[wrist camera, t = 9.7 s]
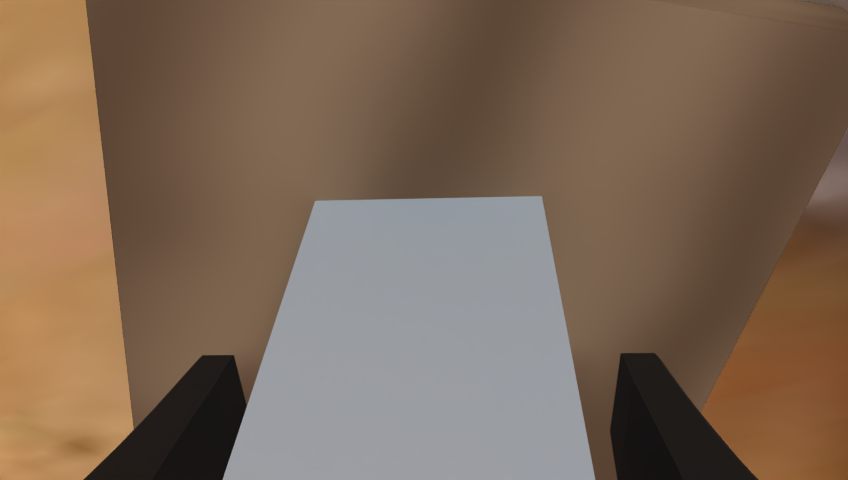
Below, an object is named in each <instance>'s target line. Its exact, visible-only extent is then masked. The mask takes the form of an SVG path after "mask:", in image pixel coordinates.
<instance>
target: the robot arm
mask: <svg viewBox="0 0 848 480" xmlns="http://www.w3.org/2000/svg"><path fill="white" fill-rule="evenodd" d="M246 408H247V405H246V401H245V397H244V393H243V389H242V385H241V381H240V377H239V373H238V369H237V365H236V361H235V357H234V355H202V356H201V357H200V358H199V359H198V360H197V361H196V362H195V363H194V365H193V366H192V367H191V368H190V369H189V370H188V371H187V372H186V373H185V374H184V376H183V377H182V378H181V379H180V380H179V381H178V382H177V383H176V385H175V386H174V387H173V388H172V389H171V390H170V391H169V392H168V393H167V395H166V396H165V397H164V398H163V399H162V400H161V401H160V402H159V403H158V404H157V406H156V407H155V408H154V409H153V410H152V411H151V412H150V413H149V414H148V415H147V416H146V417H145V418H144V420H143V421H142V422H141V423H140V424H139V425H138V426H137V427H136V428H135V429H134V430H133V431H132V432H131V433H130V434H129V435H128V436H127V438H126V439H125V440H124V441H123V442H122V443H121V444H120V445H119V446H118V447H117V448H116V449H115V450H114V451H113V452H112V453H111V454H110V455H109V456H108V457H106V458H105V459H104V460H103V461H102V462H101V463H100V464H99V465H98V466H97V467H96V468H95V469H94V470H93V471H92V472H91V473H90V474H89V475H88V476H87V477H86V478H85V479H84V480H223V477H224V474H225V471H226V468H227V465H228V462H229V459H230V456H231V453H232V450H233V447H234V444H235V441H236V438H237V435H238V432H239V429H240V426H241V423H242V420H243V417H244V414H245V411H246ZM610 435H611V442H612V449H613V456H614V462H615V468H616V475H617V480H758V479H757V478H756V477H755V476H754V475H753V474H752V473H751V471H750V470H749V469H748V468H747V467H746V466H745V465H744V464H743V463H742V462H741V460H740V459H739V458H738V457H737V456H736V455H735V454H734V453H733V451H732V450H731V449H730V448H729V447H728V446H727V444H726V443H725V442H724V441H723V440H722V438H721V437H720V436H719V435H718V434H717V432H716V431H715V430H714V429H713V428H712V426H711V425H710V424H709V423H708V422H707V420H706V419H705V418H704V417H703V415H702V414H701V413H700V412H699V410H698V409H697V408H696V406H695V405H694V404H693V402H692V401H691V400H690V399H689V397H688V396H687V395H686V393H685V392H684V391H683V389H682V388H681V387H680V385H679V384H678V383H677V381H676V380H675V378H674V377H673V376H672V374H671V373H670V372H669V370H668V369H667V367H666V366H665V365H664V363H663V362H662V360H661V359H660V358H659V357H658V356H657V355H656V354H655V353H621V355H620V362H619V369H618V376H617V383H616V391H615V398H614V405H613V412H612V419H611V426H610Z"/></svg>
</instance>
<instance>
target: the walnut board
mask: <svg viewBox="0 0 848 480" xmlns="http://www.w3.org/2000/svg"><path fill="white" fill-rule="evenodd" d="M86 8H87V17H88V26H89V35H90V43H91V52H92V61H93V70H94V79H95V88H96V97H97V106H98V115H99V124H100V132H101V141H102V150H103V159H104V168H105V177H106V186H107V195H108V204H109V213H110V221H111V230H112V239H113V248H114V257H115V266H116V275H117V284H118V293H119V302H120V311H121V319H122V328H123V337H124V346H125V355H126V364H127V373H128V382H129V391H130V400H131V408H132V417H133V426H134V429H135V428H136V427H137V426H138V425H139V424H140V423H141V422H142V421H143V420H144V418H145V417H146V416H147V415H148V414H149V413H150V412H151V411H152V410H153V409H154V408H155V407H156V406H157V404H158V403H159V402H160V401H161V400H162V399H163V398H164V397H165V396H166V395H167V393H168V392H169V391H170V390H171V389H172V388H173V387H174V386H175V385H176V383H177V382H178V381H179V380H180V379H181V378H182V377H183V376H184V374H185V373H186V372H187V371H188V370H189V369H190V368H191V367H192V366H193V365H194V363H195V362H196V361H197V360H198V359H199V358H200V357H201V356H202V355H234V357H235V361H236V365H237V369H238V373H239V377H240V381H241V385H242V389H243V393H244V397H245V401H246V405H248V402H249V399H250V396H251V393H252V390H253V387H254V384H255V381H256V378H257V375H258V372H259V369H260V366H261V363H262V360H263V357H264V354H265V351H266V347H267V344H268V341H269V338H270V335H271V332H272V329H273V326H274V323H275V320H276V317H277V314H278V311H279V308H280V305H281V302H282V299H283V296H284V293H285V290H286V287H287V284H288V281H289V278H290V275H291V272H292V269H293V266H294V263H295V260H296V257H297V254H298V251H299V248H300V245H301V242H302V239H303V236H304V233H305V230H306V227H307V224H308V221H309V218H310V215H311V212H312V209H313V206H314V203H315V201H327V200H376V199H424V198H473V197H522V196H542V200H543V205H544V210H545V216H546V221H547V226H548V232H549V237H550V242H551V248H552V253H553V258H554V263H555V269H556V274H557V279H558V285H559V290H560V295H561V300H562V306H563V311H564V316H565V322H566V327H567V332H568V338H569V343H570V348H571V353H572V359H573V364H574V369H575V375H576V380H577V385H578V390H579V396H580V401H581V406H582V412H583V417H584V422H585V428H586V433H587V438H588V443H589V449H590V454H591V459H592V465H593V470H594V475H595V480H617V475H616V468H615V462H614V456H613V449H612V442H611V435H610V426H611V419H612V412H613V405H614V398H615V391H616V383H617V376H618V369H619V362H620V355H621V353H655V354H656V355H657V356H658V357H659V358H660V359H661V360H662V362H663V363H664V365H665V366H666V367H667V369H668V370H669V372H670V373H671V374H672V376H673V377H674V378H675V380H676V381H677V383H678V384H679V385H680V387H681V388H682V389H683V391H684V392H685V393H686V395H687V396H688V397H689V399H690V400H691V401H692V402H693V404H694V405H695V406H696V408H697V409H698V410H699V412H701V410H702V408H703V406H704V404H705V403H706V401H707V399H708V397H709V395H710V393H711V391H712V389H713V387H714V385H715V383H716V381H717V379H718V377H719V375H720V373H721V371H722V370H723V368H724V366H725V364H726V362H727V360H728V358H729V356H730V354H731V352H732V350H733V348H734V346H735V344H736V342H737V340H738V338H739V337H740V335H741V333H742V331H743V329H744V327H745V325H746V323H747V321H748V319H749V317H750V315H751V313H752V311H753V309H754V307H755V305H756V304H757V302H758V300H759V298H760V296H761V294H762V292H763V290H764V288H765V286H766V284H767V282H768V280H769V278H770V276H771V274H772V272H773V271H774V269H775V267H776V265H777V263H778V261H779V259H780V257H781V255H782V253H783V251H784V249H785V247H786V245H787V243H788V241H789V239H790V238H791V236H792V234H793V232H794V230H795V228H796V226H797V224H798V222H799V220H800V218H801V216H802V214H803V212H804V210H805V208H806V206H807V205H808V203H809V201H810V199H811V197H812V195H813V193H814V191H815V189H816V187H817V185H818V183H819V181H820V179H821V177H822V175H823V173H824V172H825V170H826V168H827V166H828V164H829V162H830V160H831V158H832V156H833V154H834V152H835V150H836V148H837V146H838V144H839V142H840V140H841V139H842V137H843V135H844V133H845V131H846V129H847V127H848V11H846V10H844V9H843V8H841V7H835V6H829V5H823V4H817V3H811V2H805V1H799V0H86Z"/></svg>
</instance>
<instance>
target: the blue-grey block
mask: <svg viewBox="0 0 848 480" xmlns="http://www.w3.org/2000/svg"><path fill="white" fill-rule="evenodd" d="M223 480H595V475H594V470H593V465H592V459H591V454H590V449H589V443H588V438H587V433H586V428H585V422H584V417H583V412H582V406H581V401H580V396H579V390H578V385H577V380H576V375H575V369H574V364H573V359H572V353H571V348H570V343H569V338H568V332H567V327H566V322H565V316H564V311H563V306H562V300H561V295H560V290H559V285H558V279H557V274H556V269H555V263H554V258H553V253H552V248H551V242H550V237H549V232H548V226H547V221H546V216H545V210H544V205H543V200H542V196H522V197H473V198H424V199H376V200H327V201H315V203H314V206H313V209H312V212H311V215H310V218H309V221H308V224H307V227H306V230H305V233H304V236H303V239H302V242H301V245H300V248H299V251H298V254H297V257H296V260H295V263H294V266H293V269H292V272H291V275H290V278H289V281H288V284H287V287H286V290H285V293H284V296H283V299H282V302H281V305H280V308H279V311H278V314H277V317H276V320H275V323H274V326H273V329H272V332H271V335H270V338H269V341H268V344H267V347H266V351H265V354H264V357H263V360H262V363H261V366H260V369H259V372H258V375H257V378H256V381H255V384H254V387H253V390H252V393H251V396H250V399H249V402H248V405H247V408H246V411H245V414H244V417H243V420H242V423H241V426H240V429H239V432H238V435H237V438H236V441H235V444H234V447H233V450H232V453H231V456H230V459H229V462H228V465H227V468H226V471H225V474H224V477H223Z"/></svg>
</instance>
